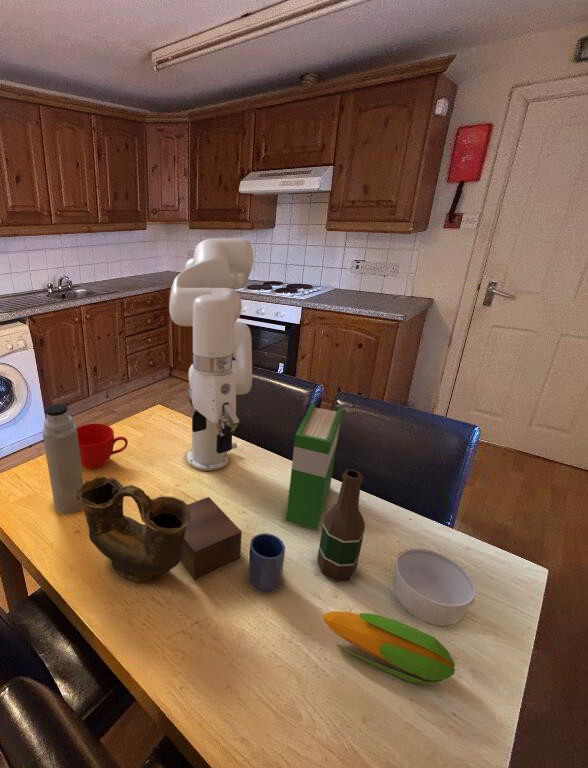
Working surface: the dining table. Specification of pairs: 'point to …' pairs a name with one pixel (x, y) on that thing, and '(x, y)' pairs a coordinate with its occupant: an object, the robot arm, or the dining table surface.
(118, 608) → the dining table surface
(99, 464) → the ceramic cup
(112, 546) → the pottery vessel
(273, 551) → the cup
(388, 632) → the corn
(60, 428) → the thermos bottle
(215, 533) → the box lid
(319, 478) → the hardback book
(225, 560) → the box
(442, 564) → the ramekin
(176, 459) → the dining table surface
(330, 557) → the beer bottle
